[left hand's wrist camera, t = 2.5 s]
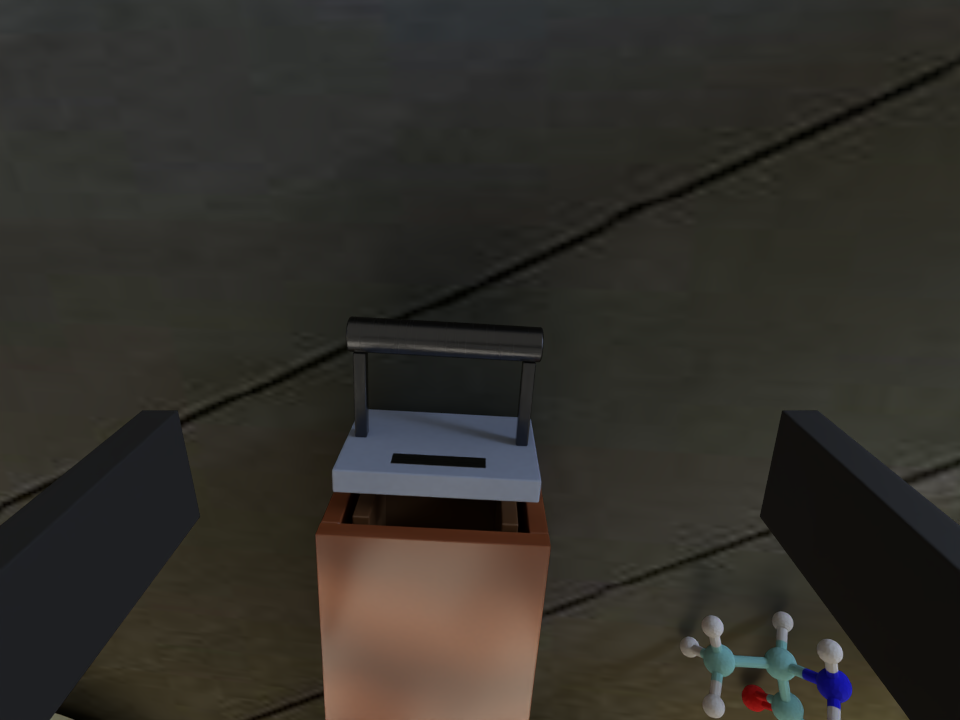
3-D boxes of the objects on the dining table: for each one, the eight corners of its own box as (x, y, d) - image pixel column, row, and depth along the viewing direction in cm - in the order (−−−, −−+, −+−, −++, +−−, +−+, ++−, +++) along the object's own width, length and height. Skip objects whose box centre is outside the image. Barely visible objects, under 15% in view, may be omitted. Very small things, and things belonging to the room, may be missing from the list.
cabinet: (353, 443, 33) (314, 534, 26) (535, 453, 34) (550, 546, 26) (358, 651, 39) (328, 776, 32) (513, 659, 39) (521, 785, 32)
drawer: (357, 300, 29) (325, 340, 23) (541, 310, 30) (556, 353, 24) (363, 617, 37) (341, 708, 31) (510, 624, 37) (515, 716, 31)
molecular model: (631, 726, 36) (777, 843, 27) (667, 575, 38) (816, 638, 29) (748, 735, 41) (903, 836, 32) (775, 601, 43) (930, 662, 34)
